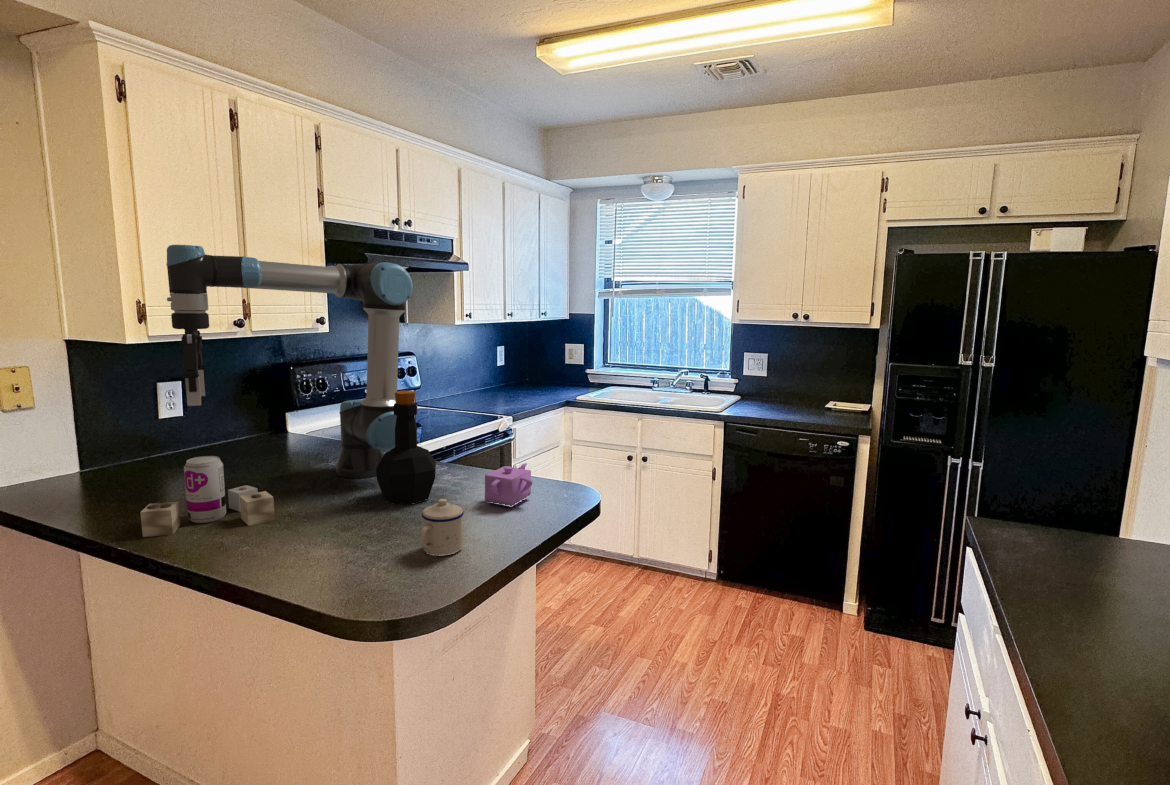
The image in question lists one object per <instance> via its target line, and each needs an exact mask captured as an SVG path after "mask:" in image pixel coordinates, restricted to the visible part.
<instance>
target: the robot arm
mask: <svg viewBox="0 0 1170 785" xmlns="http://www.w3.org/2000/svg"><path fill="white" fill-rule="evenodd" d="M166 269H167V279H168V288H169V290H168V291H169V296H170V297H169V296H168V297H167V298H166V301H167V302H170V310H171V311H173V312H172V313H171V315H170V318H171V328H172V329H175V330H184V334H183V333H182V335H181V336H182V337H181V339H180V340H181V345H182V354H183V367H184V368H183V370H184V371H183V373H182V374H181V379H185V390H186V391H185V392H186V393H185V394H186V403H187V407H194V406H195V407H196V406H197V407H198V406H202V397H206V390H205V389H206V388H205V377H204V375H205V374H204V371H205V370H207V365H206V364H205V365H204V361H203V352H202V351H203V336H202V335H201V331H200V330H205V329H209V328H210V320H209V319H210V316H209V313H207V312H208V311H209V298H208V290H207V288H208V287H210V288H237V289H239V288H240V289H241V288H242V289H255V290H256V289H258V290H273V291H286V292H287V291H288V292H289V291H290V292H303V293H306V292H307V293H318V294H321V293H322V294H334V295H335V296H336V297H337V298H342V299H343V298H346V299H351V300H357V301H361V302H362V309H363V310H364V312H365V313H366V314H367V315H368V322H367V324H368V325H367V326H368V327H367V356H366V357H367V360H366V362H367V364H366V366H367V368H366V396H365V398H361V399H359V398H358V399H349V400H344V401H342V402H341V403H340V406H339V419H340V420H339V421H340V438H341V439H340V442H341V443H340V444H341V450H340V452H339V455H338V456H339V457H338V459H337V463H336V466H335V467H336V470H335V471H336V474H337V475H338V476H339V477H342V478H349V479H352V478H353V479H361V478H370V477H371V478H372V477H377V474H376V469H377V467H378V465H379V463H380V461H381V459H382V457H383V456H384V454H385V453H384V451H390V450H391V449H393V448H394V447H395V425H396V418H397V416H396V415H394V404H395V403H396V399H395V392H398V374H399V373H398V370H399V343H400V342H399V340H400V337H399V336H400V317H401V316H402V315H403V314H404V313H405V312H406V302H407V301H408V300H409V299H410V298H411V296H412V294H413V288H414V287H413V286H414V285H413V281H412V277H411V276H410V273H409V272H408V271H407V270H406V268H404V267H403V266H401V265H399V264H398V263H397V264H396V263H393V262H389V261H388V262H387V261H386V262H367V263H359V264H340V263H339V264H336V266H334V267H333V266H321V265H311V264H300V263H299V264H297V263H287V262H279V261H278V262H277V261H266V260H265V261H264V260H258V259H257V258H255V257H250V256H248V257H247V256H244V255H243V256H237V255H212V254H211V255H210V254H206V252H205V249H204V247H203V246H201V245H191V244H170V245H168V246H167V248H166Z"/></svg>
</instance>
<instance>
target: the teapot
mask: <svg viewBox="0 0 1170 785" xmlns="http://www.w3.org/2000/svg"><path fill="white" fill-rule="evenodd" d="M527 465H528V463H526V462H525V463H522V464H521V465H520V467H519V468H518V467H513V466H509V465H508V466H506V465H504V466H502V467H500V468H498V469H495V470H491V471H490V472H488V473H486V474H484V502H485V501H486V502H493V503H499V504H505V505H510V506H512V505H514V504H515V503H517V502H519V501H520V500H522V499H524V498H526V497H527V496H529V495H530V494H531V495H532V493H531V491H532V486H533V480H532V471H531V470H530V469H526V466H527Z"/></svg>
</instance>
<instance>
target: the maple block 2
mask: <svg viewBox="0 0 1170 785" xmlns="http://www.w3.org/2000/svg"><path fill="white" fill-rule="evenodd" d="M240 510H241V512H240V519H241V520H242V521H243V522H244V523H245V524H246V525H247V526H254V525H259V524H263V523H267V522H272V521H275V520H276V518H275V516H276V515H275V500H274V496H272V494H270V493H269V492H268V491H266V490H264V491H258V493H253V494H248V495H242V496H240Z"/></svg>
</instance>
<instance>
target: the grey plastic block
mask: <svg viewBox="0 0 1170 785" xmlns="http://www.w3.org/2000/svg"><path fill="white" fill-rule="evenodd" d="M258 492H259V490H258V488H257V487H254V486H250V485H247V484H246V485H242V486H238V487H234V488H230V489H227V497H228V509H230V510H231V509H232V510H234V511H237V512H239V513H241V510H240V496H242V495H248V494H253V493H258Z"/></svg>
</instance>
